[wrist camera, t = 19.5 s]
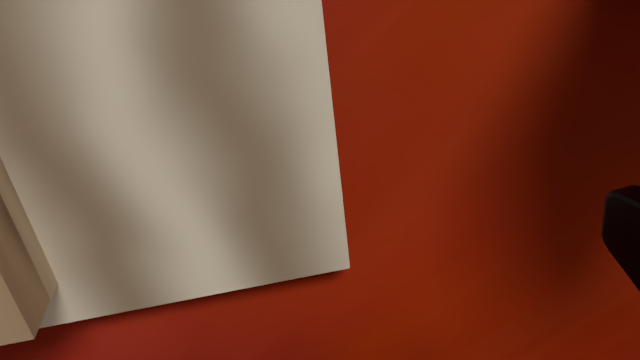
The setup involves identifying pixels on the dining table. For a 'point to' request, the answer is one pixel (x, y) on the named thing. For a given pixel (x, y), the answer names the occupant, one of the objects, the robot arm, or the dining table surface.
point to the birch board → (170, 147)
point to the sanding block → (20, 270)
